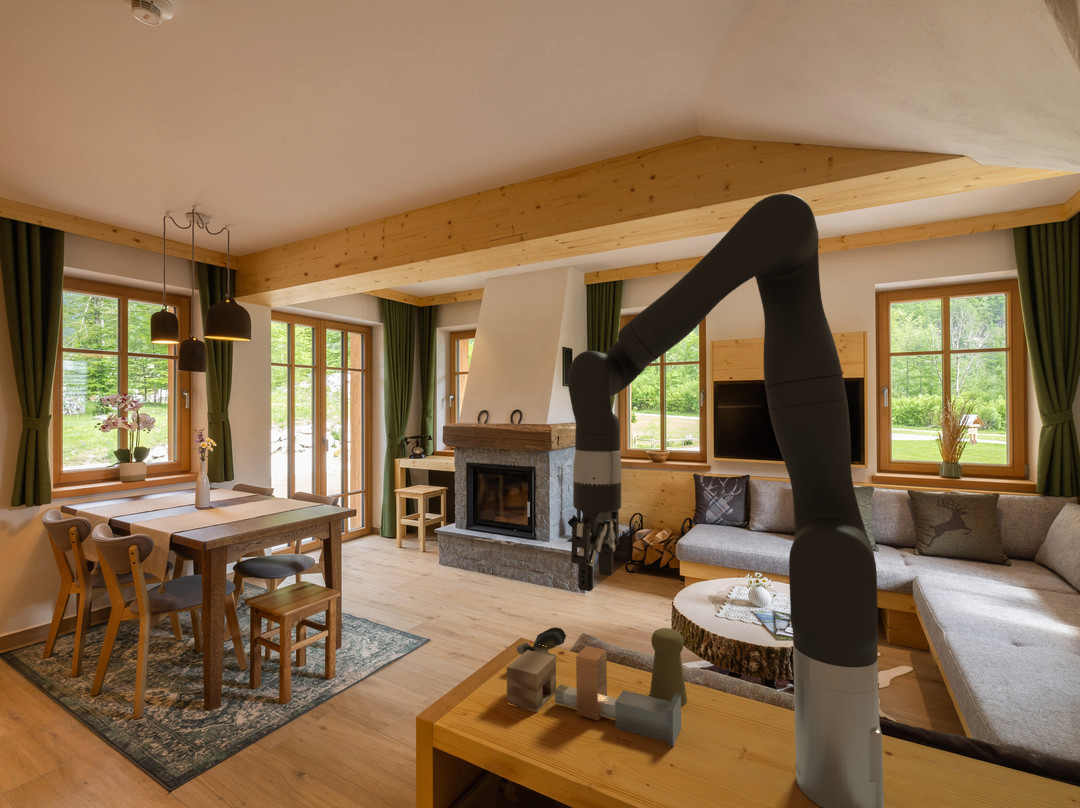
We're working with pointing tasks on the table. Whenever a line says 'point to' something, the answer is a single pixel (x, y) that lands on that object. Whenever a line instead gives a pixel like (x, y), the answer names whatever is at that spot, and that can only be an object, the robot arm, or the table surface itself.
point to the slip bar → (589, 686)
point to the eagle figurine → (545, 641)
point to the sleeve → (649, 716)
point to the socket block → (531, 680)
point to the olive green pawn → (667, 665)
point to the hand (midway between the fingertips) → (596, 582)
